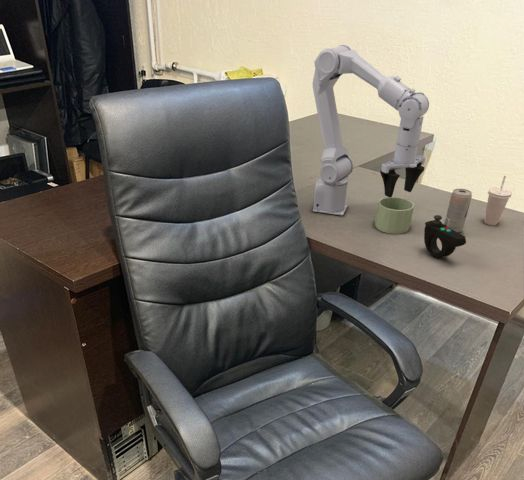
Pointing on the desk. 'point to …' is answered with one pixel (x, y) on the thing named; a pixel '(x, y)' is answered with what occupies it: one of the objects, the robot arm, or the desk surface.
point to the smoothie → (496, 203)
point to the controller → (441, 238)
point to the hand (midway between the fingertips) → (398, 193)
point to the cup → (394, 215)
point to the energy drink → (458, 209)
